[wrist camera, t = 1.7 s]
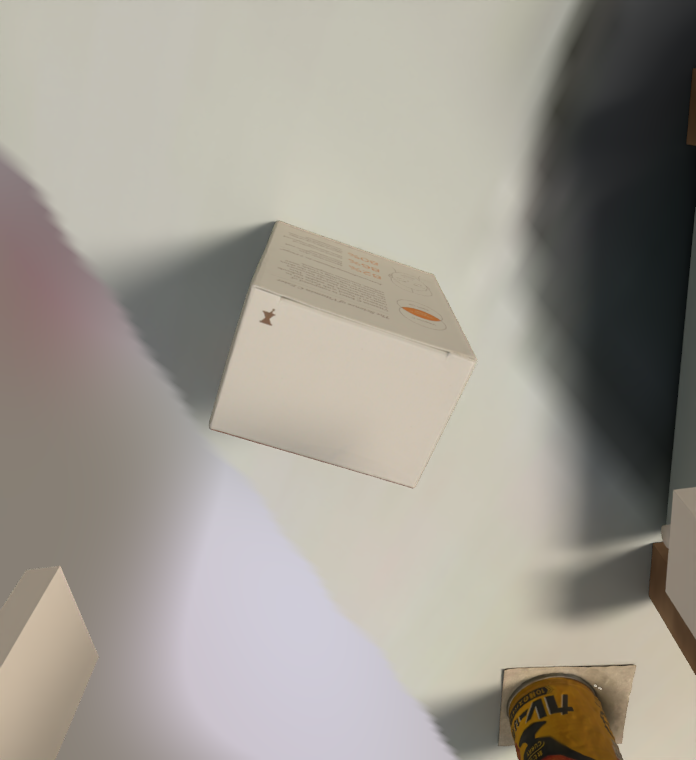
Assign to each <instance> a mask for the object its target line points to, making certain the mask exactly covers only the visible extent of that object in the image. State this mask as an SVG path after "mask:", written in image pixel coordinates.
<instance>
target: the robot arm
mask: <svg viewBox="0 0 696 760" xmlns="http://www.w3.org/2000/svg"><path fill="white" fill-rule="evenodd" d="M665 592H666V593H667V595H668V596H669V598H670V600H671V601H672V603H673V604H674V606H675V607H676V609H677V611H678V612H679V614H680V615H681V617H682V618H683V620H684V622H685V623H686V625H687V626H688V628H689V629H690V631H691V633H692V634H693V636H694V637H695V639H696V487H693V488H684V489H676V490H673V501H672V514H671V527H670V539H669V552H668V565H667V577H666V590H665ZM98 658H99V656H98V654H97V651H96V649H95V647H94V644H93V642H92V640H91V638H90V635H89V633H88V631H87V628H86V626H85V623H84V621H83V619H82V616H81V614H80V612H79V609H78V607H77V604H76V602H75V600H74V597H73V595H72V593H71V590H70V588H69V586H68V583H67V581H66V579H65V576H64V574H63V572H62V569H61V567H60V566H54V567H46V568H39V569H31V570H26V571H25V573H24V574H23V576H22V577H21V579H20V581H19V582H18V584H17V585H16V586H15V588H14V590H13V591H12V593H11V594H10V596H9V597H8V599H7V600H6V602H5V603H4V605H3V607H2V608H1V610H0V760H55V759H56V757H57V755H58V752H59V750H60V747H61V745H62V743H63V740H64V738H65V736H66V733H67V731H68V728H69V726H70V724H71V721H72V719H73V717H74V714H75V712H76V709H77V707H78V705H79V703H80V700H81V698H82V695H83V693H84V690H85V688H86V686H87V684H88V681H89V679H90V676H91V674H92V672H93V669H94V667H95V665H96V662H97V660H98Z"/></svg>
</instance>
